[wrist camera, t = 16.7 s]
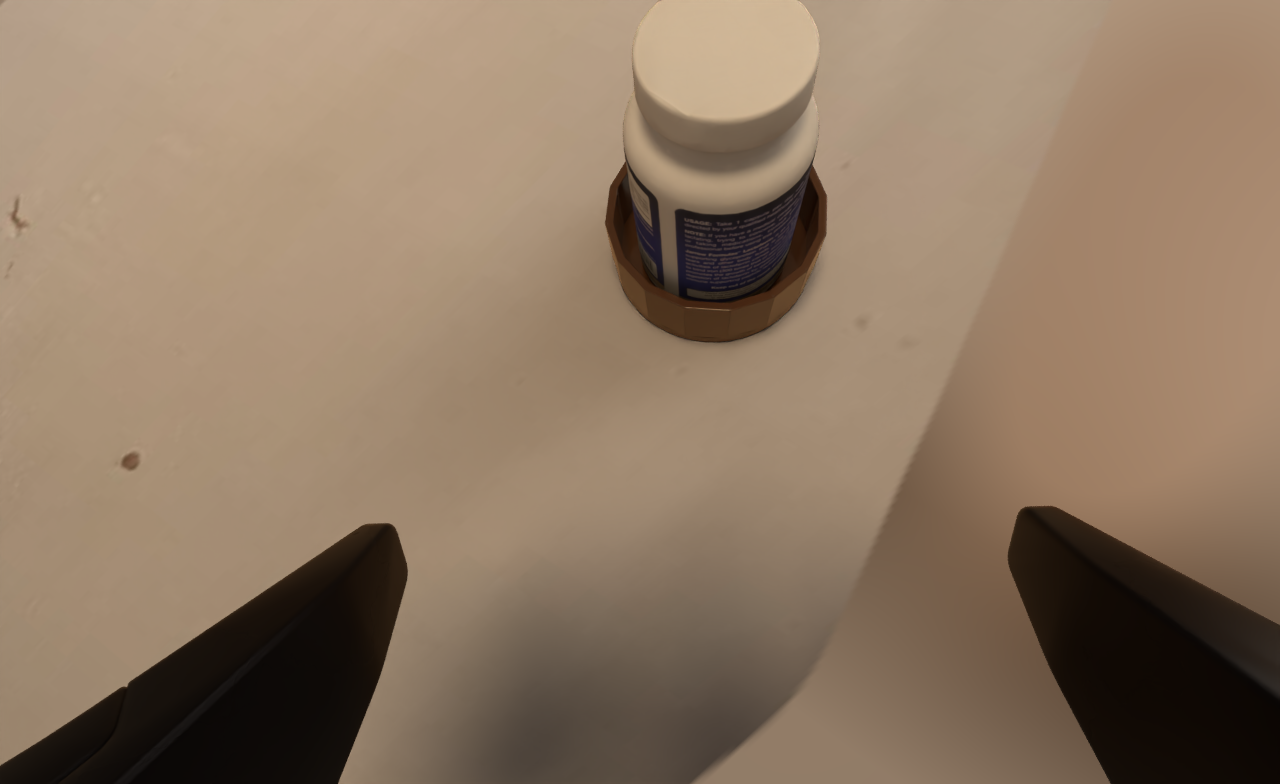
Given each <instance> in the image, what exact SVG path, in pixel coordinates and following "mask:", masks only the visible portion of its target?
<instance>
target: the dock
mask: <svg viewBox="0 0 1280 784" xmlns="http://www.w3.org/2000/svg"><path fill="white" fill-rule="evenodd" d="M605 225H606V230H607V234H608V238H609V243H610V247H611V252H612V256H613V260H614V263H615V266H616V269H617V272H618V276H619V280H620V282H621V285H622V287H623V290H624V292H625V293H626V295H627V297H628V298H629V300H630V301H631V303H632V304H633V305H634V306H635V308H636V309H637V310H638V311H639V312H640V313H641V314H642V315H643V316H644V317H645V318H646V319H648V320H649V321H650V322H652V323H653V324H654V325H656V326H658V327H659V328H661V329H663V330H665V331H667V332H669V333H671V334H674V335H677V336H679V337H683V338H687V339H691V340H697V341H705V342H721V341H730V340H735V339H739V338H743V337H747V336H749V335H752V334H755V333H757V332H759V331H761V330H763V329H765V328H767V327H769V326H770V325H772V324H773V323H775V322H776V321H777V320H779V319H780V318H781V317H782V316H783V315H784V314H785V313H787V312H788V311H789V310H790V308H791V307H792V306H793V305H794V303H795V302H796V301H797V300H798V298H799V296H800V295H801V293H802V291H803V289H804V287H805V285H806V282H807V280H808V278H809V276H810V274H811V272H812V270H813V268H814V266H815V263H816V260H817V258H818V255H819V252H820V250H821V247H822V244H823V242H824V239H825V236H826V225H827V195H826V193H825V191H824V188H823V186H822V184H821V182H820V180H819V178H818V175H817V173H816V171H815V169H814V167H813V165H812V167H811V170H810V174H809V178H808V181H807V185H806V189H805V193H804V196H803V199H802V203H801V207H800V211H799V214H798V218H797V222H796V226H795V230H794V233H793V237H792V241H791V245H790V248H789V252H788V255H787V258H786V261H785V264H784V267H783V269H782V271H781V273H780V275H779V276H778V278H777V279H776V281H775V282H774V283H773V284H772V286H771V287H770V288H769V289H768V290H767V291H765V292H764V293H761V294H758V295H754V296H751V297H748V298H745V299H741V300H738V301H735V302H732V303H718V302H701V301H687V300H685V299H682V298H680V297H678V296H676V295H674V294H671V293H669V292H667V291H665V290H663V289H660V288H658V287H656V286H655V284H654V283H653V282H652V281H651V279H650V278H649V276H648V274H647V272H646V270H645V268H644V265H643V262H642V259H641V255H640V250H639V244H638V238H637V231H636V225H635V218H634V211H633V205H632V198H631V192H630V186H629V179H628V171H627V165H626V162H625V163H624V165H623V167H622V168H621V170H620V171H619V173H618V175H617V176H616V178H615V179H614V181H613V183H612V184H611V186H610V190H609V198H608V205H607V213H606V221H605Z"/></svg>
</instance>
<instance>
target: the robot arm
mask: <svg viewBox="0 0 1280 784" xmlns="http://www.w3.org/2000/svg"><path fill="white" fill-rule="evenodd" d="M1008 564H1009V568H1010V571H1011V573H1012V576H1013V578H1014V581H1015V583H1016V586H1017V588H1018V591H1019V593H1020V596H1021V598H1022V601H1023V603H1024V606H1025V608H1026V611H1027V613H1028V616H1029V618H1030V621H1031V623H1032V626H1033V628H1034V631H1035V633H1036V636H1037V638H1038V641H1039V643H1040V646H1041V648H1042V651H1043V653H1044V656H1045V658H1046V660H1047V662H1048V665H1049V667H1050V669H1051V671H1052V673H1053V675H1054V677H1055V679H1056V681H1057V683H1058V685H1059V687H1060V689H1061V691H1062V693H1063V695H1064V697H1065V698H1066V700H1067V702H1068V704H1069V706H1070V708H1071V710H1072V712H1073V714H1074V715H1075V717H1076V719H1077V721H1078V723H1079V725H1080V727H1081V728H1082V730H1083V732H1084V734H1085V736H1086V738H1087V740H1088V742H1089V743H1090V746H1091V747H1092V749H1093V751H1094V753H1095V755H1096V757H1097V759H1098V760H1099V762H1100V764H1101V766H1102V768H1103V770H1104V772H1105V774H1106V776H1107V778H1108V779H1109V781H1110V783H1111V784H1280V625H1278V624H1277V623H1275V622H1273V621H1271V620H1269V619H1267V618H1265V617H1263V616H1261V615H1259V614H1258V613H1256V612H1254V611H1252V610H1250V609H1248V608H1246V607H1244V606H1242V605H1241V604H1239V603H1237V602H1235V601H1233V600H1231V599H1229V598H1227V597H1225V596H1223V595H1222V594H1220V593H1218V592H1216V591H1214V590H1212V589H1210V588H1208V587H1207V586H1205V585H1203V584H1201V583H1199V582H1197V581H1195V580H1193V579H1191V578H1189V577H1188V576H1186V575H1184V574H1182V573H1180V572H1178V571H1176V570H1174V569H1172V568H1170V567H1169V566H1167V565H1165V564H1163V563H1161V562H1159V561H1157V560H1155V559H1153V558H1152V557H1150V556H1148V555H1146V554H1144V553H1142V552H1140V551H1138V550H1136V549H1135V548H1133V547H1131V546H1129V545H1127V544H1125V543H1123V542H1121V541H1119V540H1118V539H1116V538H1114V537H1112V536H1110V535H1108V534H1106V533H1104V532H1102V531H1101V530H1098V529H1097V528H1094V527H1093V526H1091V525H1089V524H1087V523H1085V522H1083V521H1082V520H1080V519H1078V518H1076V517H1074V516H1072V515H1070V514H1068V513H1066V512H1065V511H1063V510H1061V509H1059V508H1057V507H1053V506H1033V507H1032V506H1030V507H1024V508H1022V509H1021V510H1020V511H1019V513H1018V515H1017V519H1016V523H1015V527H1014V530H1013V534H1012V538H1011V542H1010V546H1009V550H1008ZM407 576H408V569H407V563H406V560H405V556H404V553H403V550H402V546H401V543H400V540H399V537H398V533H397V531H396V528H395V527H394V526H393V525H391V524H389V523H377V524H365V525H362V526H361V527H359V528H358V529H356V530H355V531H353V532H352V533H350V534H349V535H347V536H346V537H344V538H343V539H341V540H340V541H338V542H337V543H335V544H334V545H332V546H331V547H329V548H328V549H326V550H325V551H324V552H322V553H321V554H319V555H318V556H316V557H315V558H313V559H312V560H310V561H309V562H307V563H306V564H304V565H303V566H301V567H300V568H298V569H297V570H295V571H294V572H292V573H291V574H289V575H288V576H286V577H285V578H283V579H282V580H280V581H279V582H277V583H276V584H274V585H273V586H271V587H270V588H269V589H267V590H266V591H264V592H263V593H261V594H260V595H258V596H257V597H255V598H254V599H252V600H251V601H249V602H248V603H246V604H245V605H243V606H242V607H240V608H239V609H237V610H236V611H234V612H233V613H231V614H230V615H228V616H227V617H225V618H224V619H222V620H221V621H219V622H218V623H216V624H215V625H213V626H212V627H210V628H209V629H208V630H206V631H205V632H203V633H202V634H200V635H199V636H197V637H196V638H194V639H193V640H191V641H190V642H188V643H187V644H185V645H184V646H182V647H181V648H179V649H178V650H176V651H175V652H173V653H172V654H170V655H169V656H167V657H166V658H164V659H163V660H161V661H160V662H158V663H157V664H155V665H154V666H152V667H151V668H149V669H148V670H147V671H145V672H144V673H142V674H141V675H139V676H138V677H136V678H135V679H133V680H132V681H130V682H129V684H128V686H127V687H121V688H119V689H118V690H117V691H115V692H114V693H112V694H111V695H109V696H108V697H106V698H105V699H103V700H102V701H100V702H99V703H97V704H96V705H94V706H93V707H91V708H90V709H88V710H87V711H85V712H84V713H82V714H81V715H79V716H78V717H76V718H75V719H73V720H72V721H70V722H68V723H67V724H65V725H64V726H62V727H61V728H59V729H58V730H56V731H55V732H53V733H52V734H50V735H49V736H47V737H46V738H44V739H42V740H41V741H39V742H38V743H36V744H34V745H33V746H31V747H30V748H28V749H26V750H25V751H23V752H22V753H20V754H18V755H17V756H15V757H13V758H12V759H10V760H9V761H7V762H5V763H4V764H2V765H0V784H338V782H339V779H340V777H341V774H342V772H343V769H344V767H345V764H346V762H347V759H348V757H349V754H350V752H351V749H352V747H353V744H354V742H355V739H356V737H357V734H358V732H359V729H360V726H361V724H362V721H363V719H364V716H365V714H366V711H367V709H368V706H369V704H370V701H371V699H372V696H373V694H374V691H375V688H376V686H377V683H378V680H379V678H380V675H381V671H382V668H383V665H384V662H385V658H386V655H387V651H388V647H389V644H390V640H391V636H392V633H393V629H394V626H395V622H396V618H397V615H398V611H399V608H400V604H401V600H402V597H403V593H404V589H405V586H406V582H407Z"/></svg>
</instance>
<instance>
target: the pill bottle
mask: <svg viewBox="0 0 1280 784" xmlns="http://www.w3.org/2000/svg"><path fill="white" fill-rule="evenodd" d="M819 56H820V40H819V34H818V30H817V27H816V25H815V22H814V20H813V18H812V17H811V15H810V13H809V12H808V10H807V9H806V8H805V6H804V5H803V4H802V3H801V2H800V1H799V0H659V1H658V2H657V3H656V4H655V5H654V6H653V7H652V8H651V9H650V10H649V11H648V13H647V14H646V15H645V17H644V18H643V20H642V21H641V23H640V25H639V27H638V29H637V31H636V34H635V37H634V42H633V48H632V67H633V78H634V91H633V93H632V95H631V98H630V100H629V102H628V105H627V108H626V112H625V116H624V122H623V142H624V152H625V160H626V165H627V171H628V179H629V186H630V192H631V198H632V205H633V211H634V218H635V225H636V231H637V238H638V244H639V250H640V255H641V259H642V262H643V265H644V268H645V270H646V272H647V274H648V276H649V278H650V279H651V281H652V282H653V283H654V284H655V286H656V287H658V288H660V289H663V290H665V291H667V292H669V293H671V294H674V295H676V296H678V297H680V298H682V299H685V300H687V301H701V302H718V303H732V302H735V301H738V300H741V299H745V298H748V297H751V296H754V295H758V294H761V293H764V292H765V291H767V290H768V289H769V288H770V287H771V286H772V284H773V283H774V282H775V281H776V279H777V278H778V276H779V275H780V273H781V271H782V269H783V267H784V264H785V261H786V258H787V255H788V252H789V248H790V245H791V241H792V237H793V233H794V230H795V226H796V222H797V218H798V214H799V211H800V207H801V203H802V199H803V196H804V193H805V189H806V185H807V181H808V178H809V174H810V170H811V167H812V163H813V160H814V156H815V152H816V147H817V142H818V136H819V116H818V110H817V106H816V102H815V99H814V97H813V94H812V93H813V88H814V83H815V78H816V72H817V67H818V62H819Z"/></svg>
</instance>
